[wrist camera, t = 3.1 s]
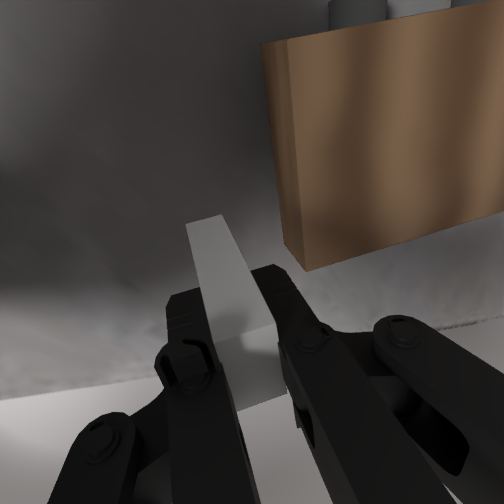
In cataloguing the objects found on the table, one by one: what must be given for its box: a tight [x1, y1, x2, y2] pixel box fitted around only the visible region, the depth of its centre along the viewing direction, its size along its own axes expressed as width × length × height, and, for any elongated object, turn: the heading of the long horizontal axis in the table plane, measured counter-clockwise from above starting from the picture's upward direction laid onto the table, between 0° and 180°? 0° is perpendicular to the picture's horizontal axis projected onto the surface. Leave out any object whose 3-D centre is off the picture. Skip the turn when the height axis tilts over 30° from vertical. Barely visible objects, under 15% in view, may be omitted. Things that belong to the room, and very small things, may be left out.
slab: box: [260, 0, 504, 272], centre depth 21 cm, size 20×13×4 cm, turn 99°
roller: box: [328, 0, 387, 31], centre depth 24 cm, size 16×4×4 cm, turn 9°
